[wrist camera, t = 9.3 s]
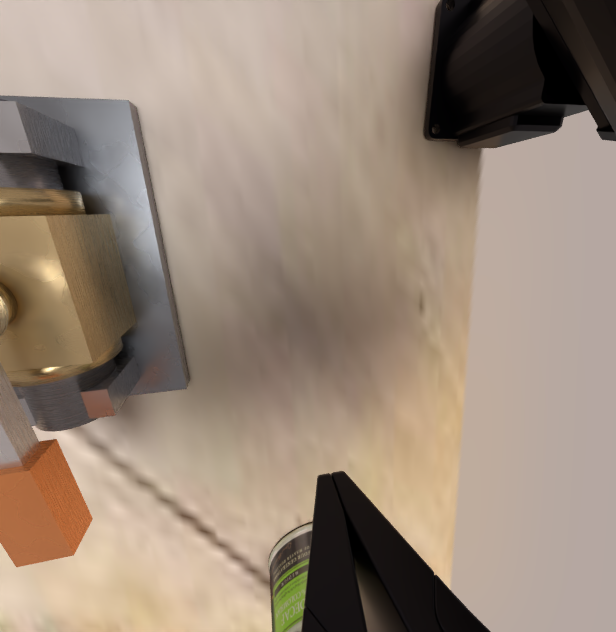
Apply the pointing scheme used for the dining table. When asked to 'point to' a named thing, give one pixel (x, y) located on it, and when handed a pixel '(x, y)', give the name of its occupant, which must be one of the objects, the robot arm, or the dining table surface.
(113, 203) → the pipe valve
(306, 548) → the coffee can
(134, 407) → the dining table surface
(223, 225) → the dining table surface
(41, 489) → the valve lever
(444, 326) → the dining table surface
